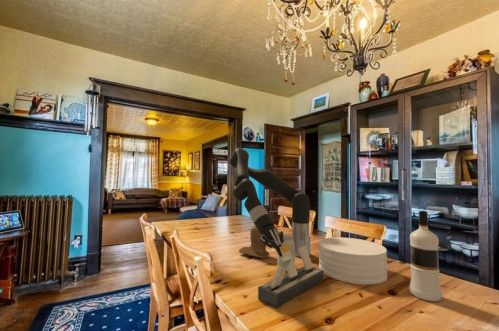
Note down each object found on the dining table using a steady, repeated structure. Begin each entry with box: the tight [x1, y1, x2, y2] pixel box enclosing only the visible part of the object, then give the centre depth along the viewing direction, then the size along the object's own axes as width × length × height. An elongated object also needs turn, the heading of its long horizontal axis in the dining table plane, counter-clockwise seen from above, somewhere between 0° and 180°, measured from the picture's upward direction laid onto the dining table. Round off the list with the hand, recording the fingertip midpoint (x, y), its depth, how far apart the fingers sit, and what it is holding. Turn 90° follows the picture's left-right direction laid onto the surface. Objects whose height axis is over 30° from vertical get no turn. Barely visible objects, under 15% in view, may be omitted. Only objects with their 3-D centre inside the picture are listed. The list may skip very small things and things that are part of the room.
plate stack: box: [318, 236, 388, 285], centre depth 106 cm, size 28×28×12 cm
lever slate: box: [296, 240, 314, 271], centre depth 97 cm, size 1×4×12 cm, turn 135°
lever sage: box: [270, 256, 292, 289], centre depth 79 cm, size 1×4×12 cm, turn 134°
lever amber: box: [280, 244, 298, 280], centre depth 89 cm, size 1×4×12 cm, turn 134°
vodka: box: [408, 210, 443, 303], centre depth 84 cm, size 9×9×30 cm
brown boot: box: [238, 225, 270, 259], centre depth 126 cm, size 15×12×15 cm
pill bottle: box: [276, 233, 296, 272], centre depth 109 cm, size 8×8×15 cm
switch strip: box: [257, 266, 325, 309], centre depth 87 cm, size 8×30×4 cm, turn 134°
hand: (283, 255), depth 91 cm, fingers closed
